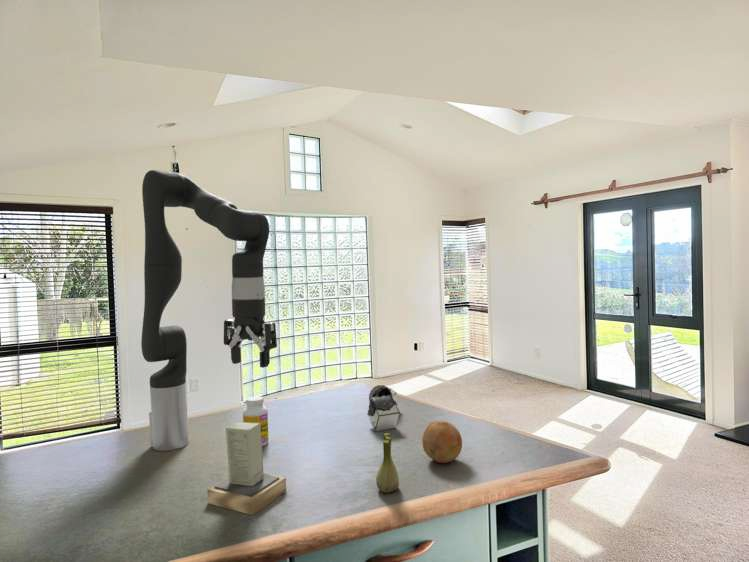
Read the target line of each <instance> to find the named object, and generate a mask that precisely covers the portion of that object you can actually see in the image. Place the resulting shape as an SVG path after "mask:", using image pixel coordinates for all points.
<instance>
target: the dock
mask: <svg viewBox="0 0 749 562" xmlns="http://www.w3.org/2000/svg"><path fill="white" fill-rule="evenodd" d="M263 473H264V478H263V479H262V480H260V481H259V482H258V483H256V484H255V485H254V486H246V485H239V484H233V483H229V476H228V477H226V478H224V479H223V480H221V481H219V482H217V483H216V484H214V485H212V486H210V487H209V488H207V489H206V490H207V503H208V504H210V505H213V506H217V507H220V508H221V507H222V508H224V509H228V510H232V511H235V512H239V513H244V514H248V515H251V516H253V515H255V514H256V513H258V512H259V511H260V510H262V509H263V508H265V507H266V506H267V505H269V504H270V503H272V502H273V501H274V499H275V500H276V499H278V498H279V497H280V496H282V495H283V494H285V493H286V492H287V478H286V477H283V476H280V475H275V474H270V473H265V472H263ZM285 491H286V492H285ZM284 492H285V493H284ZM282 493H283V494H282ZM281 494H282V495H281ZM278 496H279V497H278ZM277 497H278V498H277Z"/></svg>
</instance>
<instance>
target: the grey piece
mask: <svg viewBox="0 0 749 562" xmlns="http://www.w3.org/2000/svg"><path fill="white" fill-rule="evenodd" d="M368 400H369V401H368V402H369V404H368V410H367V417H368V419H369V421H370V424H371V426H372V428H373V431H374V432H379V431H381V432H382V431H386V430H390V429H396V428H397V426H398V422H399V418H400V414H401V411H400V409H399V408H398V403H399V396H398V393H397V391H395V390H394V389H393V388H390V387H388V386H386V385H384V384H379V385H378V384H377V385H376V386H374V387H373V388H372V389H371V390H370V392H369V395H368Z"/></svg>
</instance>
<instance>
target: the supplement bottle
mask: <svg viewBox="0 0 749 562" xmlns="http://www.w3.org/2000/svg"><path fill="white" fill-rule="evenodd" d="M264 403H265V402H264V397H263V396H260V395H258V396H257V395H254V396H249V397H247V398H246V399H245V404H246V407H245V408H244V409H243V410H242V422H250V423H260V429H261V443H262V447H264V446H266V445H267V444H268V443H269V419H268V414H269V412H268V408H267V407H266V406H265V405H264Z"/></svg>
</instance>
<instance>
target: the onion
mask: <svg viewBox="0 0 749 562" xmlns="http://www.w3.org/2000/svg"><path fill="white" fill-rule="evenodd" d="M421 441H422V448H423V451H424V453H425V454H426V455H427V457H428V458H430V459H431V460H433V461H434V462H437V463H441V464H446V463H450V462H453V461H454V460H456V459H457V458H458V457H459V455H460V453H461V452H462V448H463V437H462V435H461V433H460V431H459V430H458V428H457V427H456V426H455V425H454V424H452V423H451V422H449V421H446V420H436V421H431V422H430V423H429V424H428V425H427V427H426V428H425V430H424V432H423V434H422V440H421Z"/></svg>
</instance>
